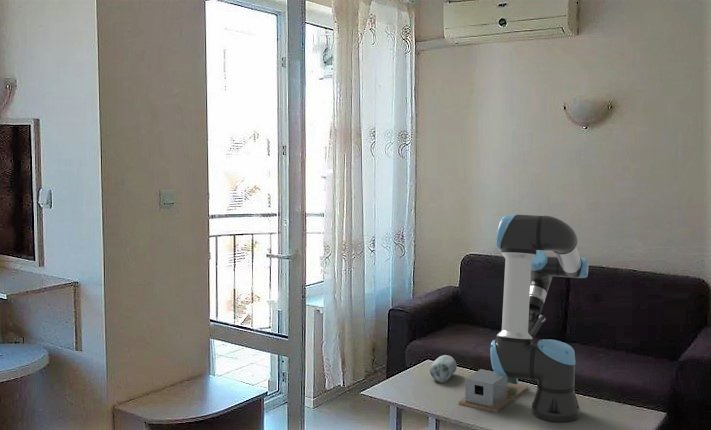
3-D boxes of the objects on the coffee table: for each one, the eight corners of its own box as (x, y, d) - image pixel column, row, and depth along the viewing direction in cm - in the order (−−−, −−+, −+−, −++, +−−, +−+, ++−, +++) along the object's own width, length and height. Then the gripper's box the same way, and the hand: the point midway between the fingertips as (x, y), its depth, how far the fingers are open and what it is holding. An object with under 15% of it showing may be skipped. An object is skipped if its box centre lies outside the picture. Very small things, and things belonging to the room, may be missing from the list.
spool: (451, 378, 254) (442, 351, 257) (429, 386, 258) (420, 360, 261) (466, 376, 265) (457, 351, 269) (444, 384, 269) (436, 359, 273)
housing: (491, 381, 259) (491, 357, 258) (528, 388, 251) (528, 364, 250) (458, 404, 237) (458, 378, 236) (497, 412, 229) (497, 386, 228)
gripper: (553, 307, 271) (536, 361, 259) (521, 303, 279) (503, 355, 267) (548, 296, 266) (531, 350, 254) (515, 293, 274) (498, 345, 262)
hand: (517, 353), depth 261 cm, fingers closed
